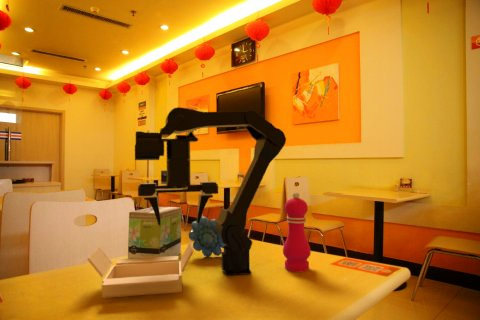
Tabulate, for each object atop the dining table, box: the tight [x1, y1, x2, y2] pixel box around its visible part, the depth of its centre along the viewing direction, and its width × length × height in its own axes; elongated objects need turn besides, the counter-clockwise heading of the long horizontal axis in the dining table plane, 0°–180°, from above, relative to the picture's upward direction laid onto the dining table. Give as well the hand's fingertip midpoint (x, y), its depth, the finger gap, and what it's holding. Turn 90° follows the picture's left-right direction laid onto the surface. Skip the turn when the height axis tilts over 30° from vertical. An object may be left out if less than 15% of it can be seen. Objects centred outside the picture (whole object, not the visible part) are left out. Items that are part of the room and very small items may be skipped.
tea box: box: [127, 206, 182, 264], centre depth 94 cm, size 15×10×15 cm, turn 168°
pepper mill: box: [282, 191, 312, 273], centre depth 85 cm, size 7×7×20 cm
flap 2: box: [180, 240, 195, 272], centre depth 74 cm, size 5×10×1 cm
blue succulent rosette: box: [188, 216, 227, 258], centre depth 95 cm, size 12×7×12 cm, turn 94°
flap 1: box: [86, 246, 113, 278], centre depth 71 cm, size 5×10×1 cm
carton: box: [101, 255, 183, 299], centre depth 72 cm, size 16×18×4 cm
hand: (179, 224), depth 78 cm, fingers open, 9 cm apart
